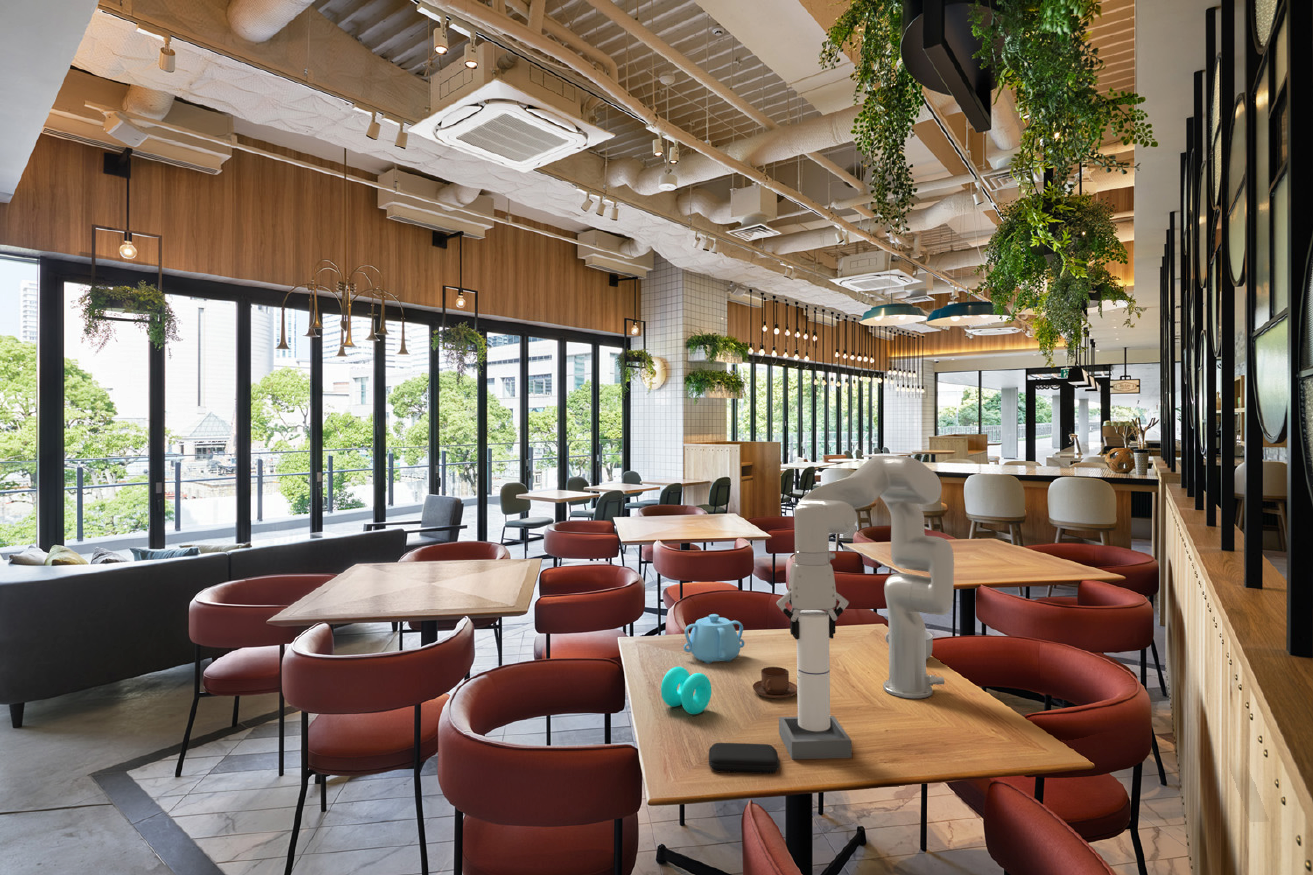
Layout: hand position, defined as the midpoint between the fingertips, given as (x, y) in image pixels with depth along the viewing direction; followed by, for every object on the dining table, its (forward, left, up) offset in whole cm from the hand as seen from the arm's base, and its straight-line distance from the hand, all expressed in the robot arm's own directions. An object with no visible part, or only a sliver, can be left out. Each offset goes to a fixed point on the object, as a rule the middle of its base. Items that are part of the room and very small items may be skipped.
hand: (812, 636), depth 155 cm
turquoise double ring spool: (+27, -22, -25) cm, 43 cm away
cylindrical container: (0, 0, -20) cm, 20 cm away
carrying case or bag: (+17, +7, -25) cm, 31 cm away
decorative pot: (+15, -62, -25) cm, 68 cm away
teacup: (-45, -58, -25) cm, 78 cm away
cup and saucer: (+2, -31, -25) cm, 40 cm away
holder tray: (0, 0, -24) cm, 24 cm away
